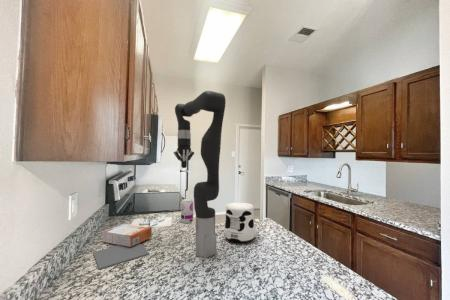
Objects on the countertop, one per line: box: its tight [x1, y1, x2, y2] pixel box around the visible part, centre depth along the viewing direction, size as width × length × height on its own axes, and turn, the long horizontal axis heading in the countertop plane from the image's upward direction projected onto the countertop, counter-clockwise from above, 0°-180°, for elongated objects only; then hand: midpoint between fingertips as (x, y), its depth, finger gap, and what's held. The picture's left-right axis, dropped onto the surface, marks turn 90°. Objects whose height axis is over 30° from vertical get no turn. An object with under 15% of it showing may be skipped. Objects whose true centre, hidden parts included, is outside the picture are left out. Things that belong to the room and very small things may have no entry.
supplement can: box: [180, 198, 194, 224], centre depth 141 cm, size 8×8×15 cm
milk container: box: [223, 201, 257, 243], centre depth 113 cm, size 17×17×18 cm
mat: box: [92, 243, 150, 271], centre depth 95 cm, size 18×20×1 cm
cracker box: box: [102, 223, 153, 247], centre depth 110 cm, size 14×6×21 cm
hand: (184, 167), depth 119 cm, fingers closed
